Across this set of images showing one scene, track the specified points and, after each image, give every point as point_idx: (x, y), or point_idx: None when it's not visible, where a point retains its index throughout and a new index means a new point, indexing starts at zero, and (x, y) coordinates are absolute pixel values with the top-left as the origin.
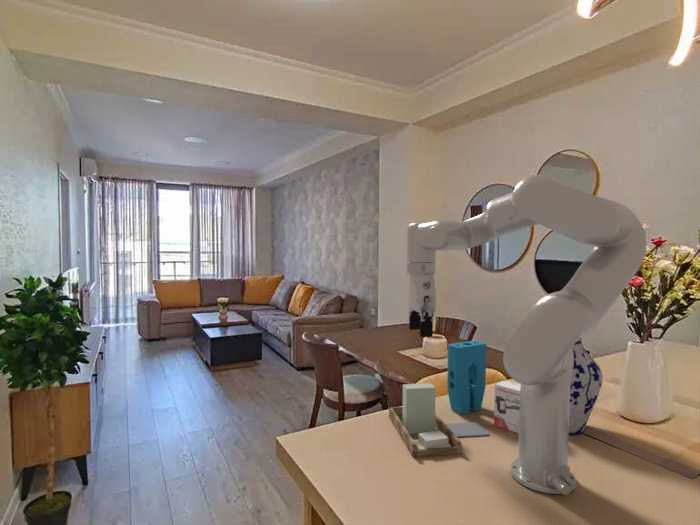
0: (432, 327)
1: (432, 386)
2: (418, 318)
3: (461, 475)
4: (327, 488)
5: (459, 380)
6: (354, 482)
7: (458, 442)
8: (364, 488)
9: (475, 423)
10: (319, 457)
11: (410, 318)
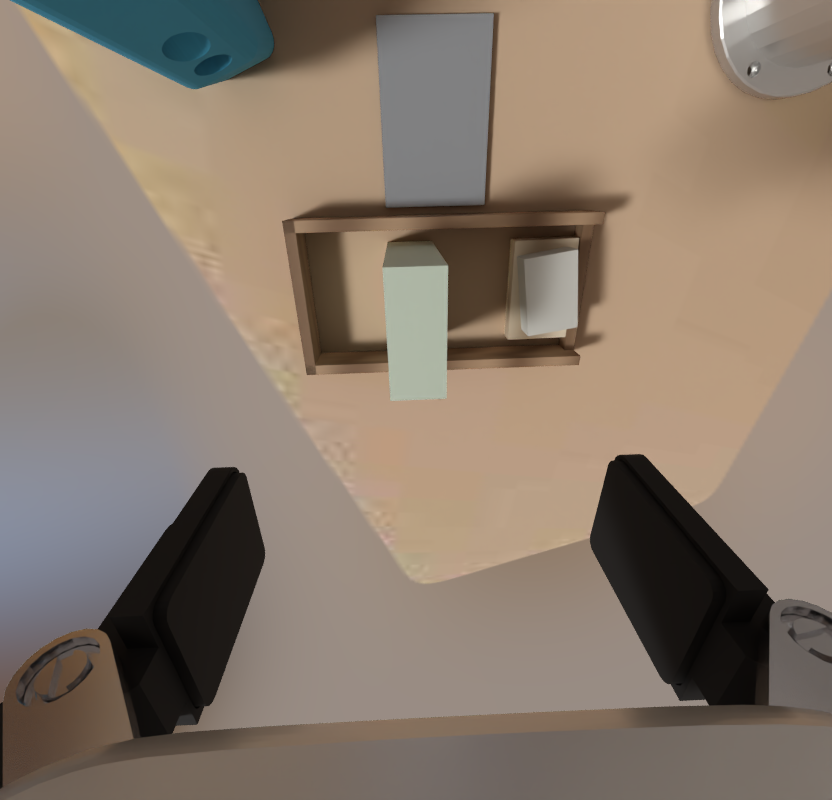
0: (702, 519)
1: (431, 276)
2: (194, 596)
3: (683, 255)
4: None
5: (229, 8)
6: None
7: (602, 221)
8: None
9: (389, 31)
10: (512, 528)
11: (222, 672)
